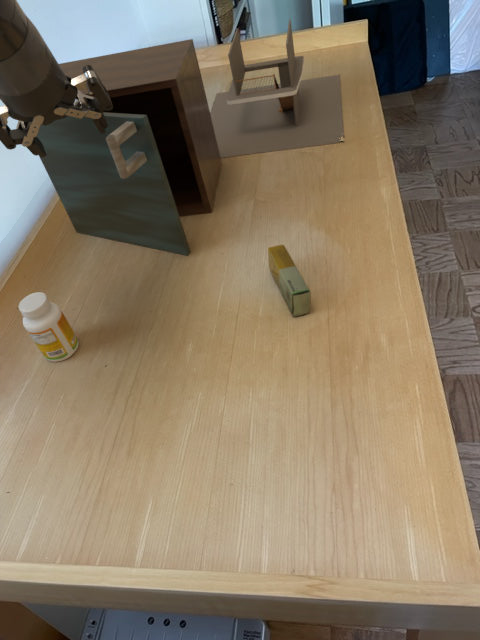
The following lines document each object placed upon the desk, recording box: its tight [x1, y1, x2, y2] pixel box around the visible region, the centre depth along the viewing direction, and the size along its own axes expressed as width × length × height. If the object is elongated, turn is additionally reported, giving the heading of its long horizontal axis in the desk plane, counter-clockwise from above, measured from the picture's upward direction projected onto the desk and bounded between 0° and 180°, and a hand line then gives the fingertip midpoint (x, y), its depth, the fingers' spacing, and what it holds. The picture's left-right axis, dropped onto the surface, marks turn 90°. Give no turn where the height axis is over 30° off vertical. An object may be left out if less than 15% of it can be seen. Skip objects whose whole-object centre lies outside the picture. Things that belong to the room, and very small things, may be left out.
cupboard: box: [58, 38, 223, 218], centre depth 99 cm, size 18×26×24 cm
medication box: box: [267, 244, 311, 318], centre depth 78 cm, size 12×3×4 cm, turn 15°
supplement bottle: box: [18, 291, 80, 363], centre depth 76 cm, size 5×5×10 cm
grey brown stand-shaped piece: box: [210, 18, 345, 159], centre depth 117 cm, size 31×35×17 cm
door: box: [37, 112, 192, 257], centre depth 87 cm, size 6×26×24 cm, turn 60°
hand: (71, 139), depth 72 cm, fingers open, 8 cm apart
